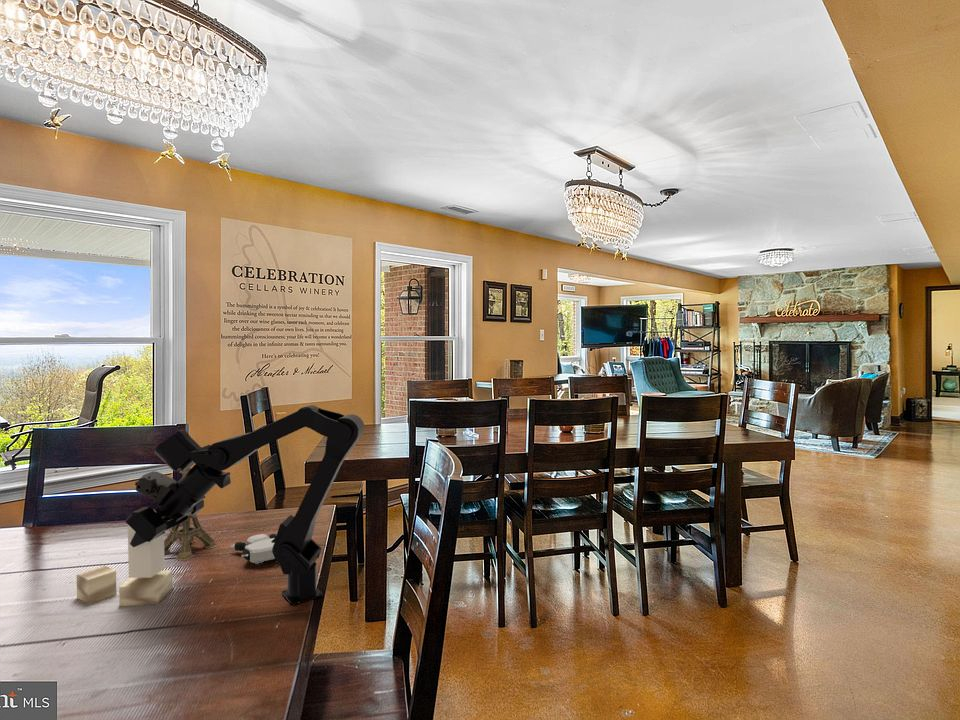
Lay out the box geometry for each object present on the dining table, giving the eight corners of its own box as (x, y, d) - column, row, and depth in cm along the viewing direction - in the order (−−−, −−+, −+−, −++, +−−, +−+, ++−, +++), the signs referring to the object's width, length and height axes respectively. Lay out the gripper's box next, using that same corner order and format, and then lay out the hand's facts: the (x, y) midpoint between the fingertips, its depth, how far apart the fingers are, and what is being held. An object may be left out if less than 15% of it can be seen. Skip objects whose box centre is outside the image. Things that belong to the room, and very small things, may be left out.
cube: (116, 594, 108) (116, 570, 108) (88, 604, 104) (88, 579, 104) (104, 588, 111) (104, 565, 111) (76, 598, 107) (76, 574, 106)
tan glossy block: (172, 588, 111) (172, 570, 111) (157, 604, 104) (157, 584, 104) (136, 591, 110) (136, 572, 110) (119, 607, 103) (119, 587, 103)
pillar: (164, 568, 109) (163, 511, 109) (151, 577, 105) (150, 518, 105) (143, 568, 109) (141, 511, 109) (128, 577, 105) (127, 518, 105)
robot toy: (227, 557, 130) (248, 572, 118) (227, 539, 130) (247, 552, 119) (277, 545, 138) (300, 558, 127) (276, 527, 138) (300, 539, 127)
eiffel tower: (184, 561, 125) (183, 457, 124) (151, 555, 128) (150, 454, 128) (219, 545, 135) (218, 449, 134) (188, 540, 138) (187, 446, 138)
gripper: (189, 450, 116) (140, 500, 116) (135, 470, 97) (76, 529, 98) (225, 485, 116) (176, 535, 116) (178, 511, 98) (119, 570, 98)
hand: (139, 540), depth 107 cm, fingers closed on pillar, 4 cm apart
